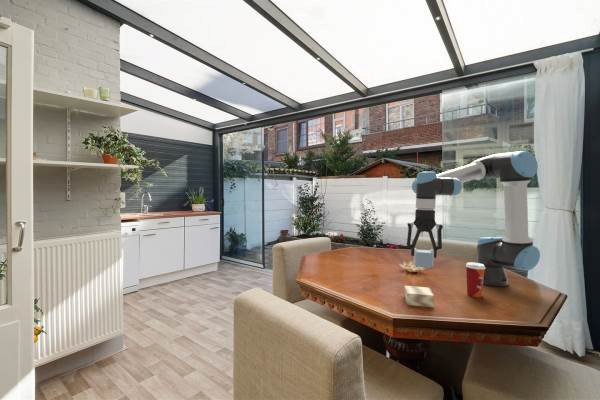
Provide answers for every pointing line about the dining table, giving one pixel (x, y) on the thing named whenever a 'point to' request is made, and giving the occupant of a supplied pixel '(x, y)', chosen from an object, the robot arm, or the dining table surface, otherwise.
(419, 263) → the slate cube
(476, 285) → the paper cup
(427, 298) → the maple block
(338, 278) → the dining table surface
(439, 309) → the dining table surface
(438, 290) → the dining table surface
